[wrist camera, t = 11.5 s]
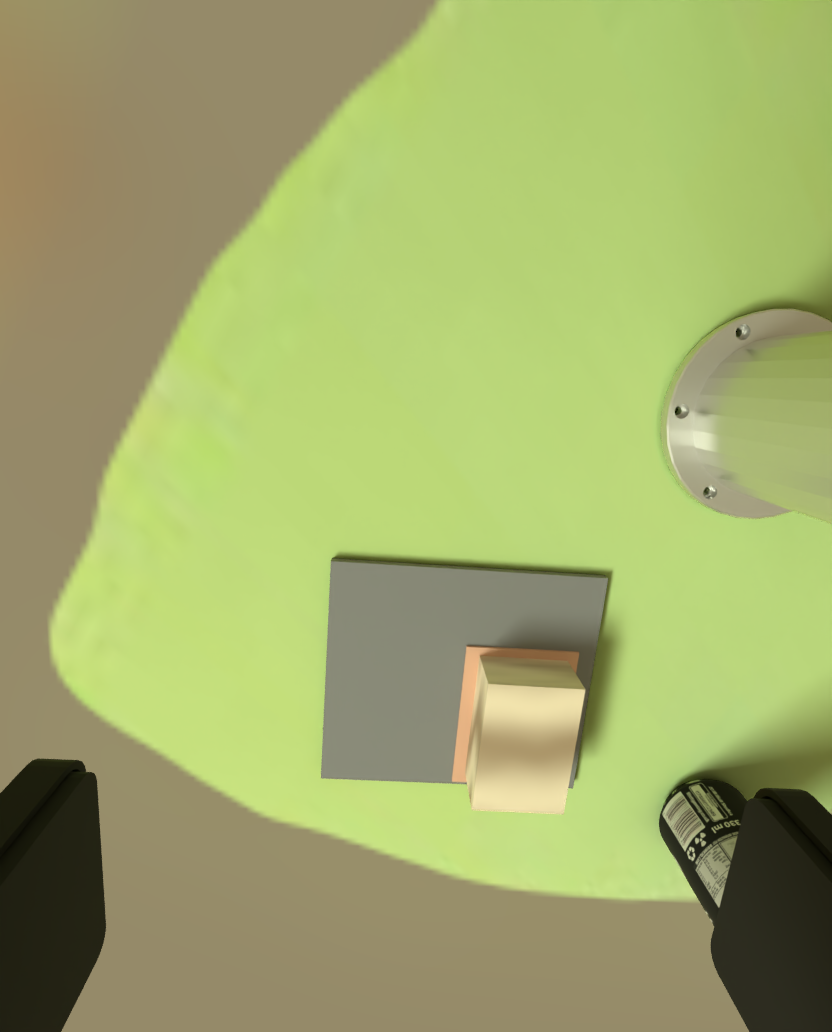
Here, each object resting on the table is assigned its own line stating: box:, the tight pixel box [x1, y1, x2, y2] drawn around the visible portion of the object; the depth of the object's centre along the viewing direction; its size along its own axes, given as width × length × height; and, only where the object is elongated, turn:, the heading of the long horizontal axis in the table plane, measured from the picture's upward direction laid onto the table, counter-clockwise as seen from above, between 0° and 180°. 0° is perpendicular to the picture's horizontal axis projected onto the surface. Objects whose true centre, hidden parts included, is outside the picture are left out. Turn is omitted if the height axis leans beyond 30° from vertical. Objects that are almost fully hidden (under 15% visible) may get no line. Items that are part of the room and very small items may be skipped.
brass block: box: [465, 656, 585, 814], centre depth 37 cm, size 9×6×4 cm, turn 175°
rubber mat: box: [321, 558, 608, 788], centre depth 39 cm, size 18×16×1 cm
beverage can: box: [659, 780, 747, 927], centre depth 37 cm, size 7×7×12 cm
